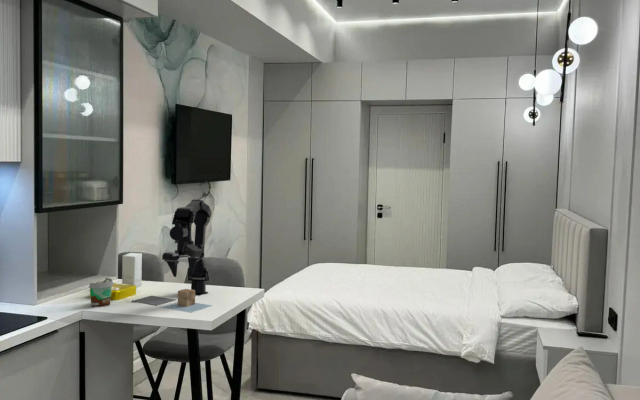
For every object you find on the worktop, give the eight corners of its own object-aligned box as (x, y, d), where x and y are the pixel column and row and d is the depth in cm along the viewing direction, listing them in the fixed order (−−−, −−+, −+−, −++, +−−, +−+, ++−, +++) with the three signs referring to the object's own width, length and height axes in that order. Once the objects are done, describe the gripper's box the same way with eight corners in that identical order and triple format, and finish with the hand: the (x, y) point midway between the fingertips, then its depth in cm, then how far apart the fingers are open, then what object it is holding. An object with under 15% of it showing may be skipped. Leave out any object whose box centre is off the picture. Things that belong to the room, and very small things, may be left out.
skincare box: (129, 284, 283) (129, 252, 282) (142, 285, 282) (142, 253, 281) (121, 288, 275) (121, 255, 274) (134, 288, 274) (135, 255, 273)
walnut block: (185, 302, 249) (185, 288, 248) (194, 304, 246) (195, 290, 246) (177, 305, 244) (177, 290, 244) (186, 306, 242) (187, 292, 242)
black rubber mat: (151, 296, 260) (151, 295, 259) (176, 300, 253) (176, 299, 253) (131, 301, 249) (131, 300, 249) (156, 306, 242) (156, 305, 242)
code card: (183, 301, 253) (183, 300, 252) (212, 306, 245) (212, 305, 245) (160, 307, 240) (160, 307, 240) (190, 313, 233) (190, 312, 233)
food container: (102, 308, 236) (102, 284, 235) (88, 307, 237) (89, 283, 236) (119, 302, 248) (119, 278, 247) (105, 301, 249) (106, 277, 248)
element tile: (138, 294, 264) (138, 284, 264) (116, 301, 250) (117, 290, 250) (110, 291, 269) (110, 281, 269) (87, 298, 255) (87, 287, 254)
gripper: (181, 241, 232) (180, 280, 232) (214, 238, 247) (213, 275, 248) (161, 239, 238) (160, 277, 238) (195, 236, 253) (194, 272, 254)
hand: (183, 275), depth 244 cm, fingers open, 9 cm apart
